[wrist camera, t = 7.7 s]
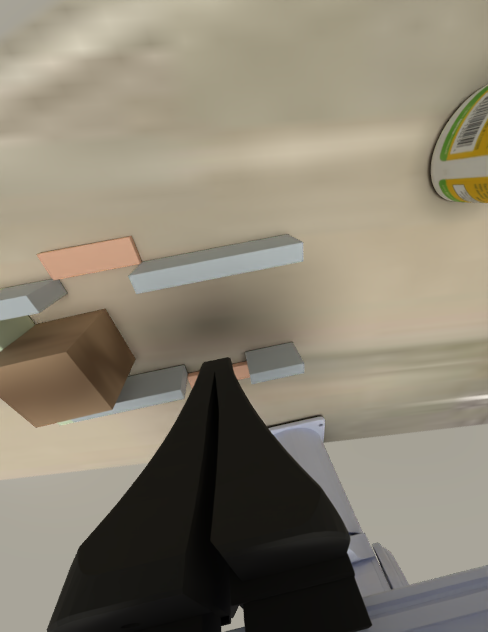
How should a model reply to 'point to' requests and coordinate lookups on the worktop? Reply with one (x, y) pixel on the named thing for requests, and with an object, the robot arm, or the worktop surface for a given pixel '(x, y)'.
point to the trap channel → (167, 384)
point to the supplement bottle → (464, 153)
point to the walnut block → (65, 369)
